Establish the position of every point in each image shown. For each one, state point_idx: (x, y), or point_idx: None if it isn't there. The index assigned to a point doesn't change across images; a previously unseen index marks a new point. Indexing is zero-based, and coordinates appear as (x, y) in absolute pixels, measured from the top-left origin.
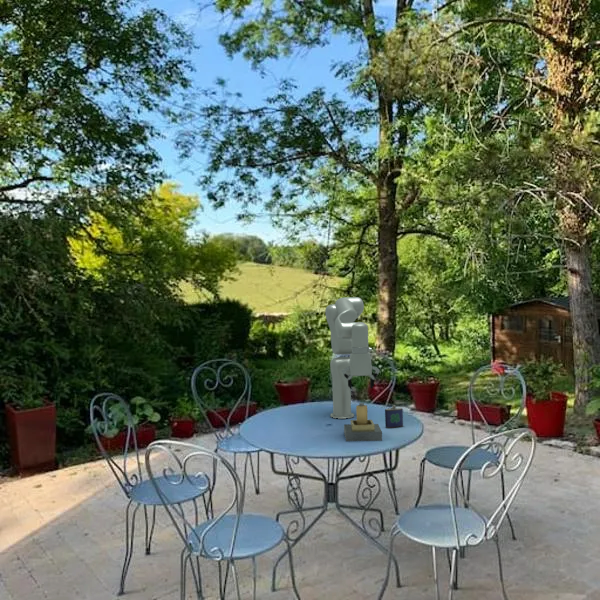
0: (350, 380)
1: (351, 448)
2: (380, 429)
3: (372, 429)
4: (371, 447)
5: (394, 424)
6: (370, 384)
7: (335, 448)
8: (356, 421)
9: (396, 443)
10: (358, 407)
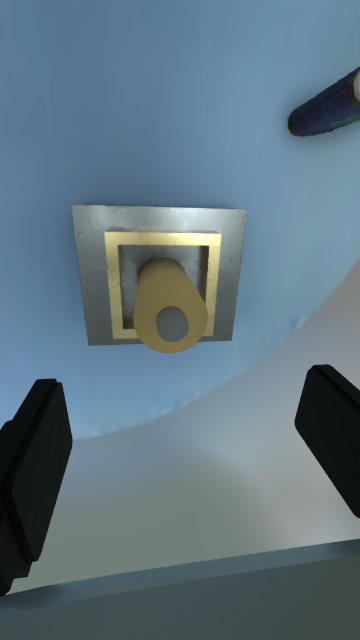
0: (21, 571)
1: (114, 398)
2: (233, 311)
3: None
4: (175, 390)
5: (336, 127)
6: (326, 399)
7: None
8: (137, 244)
9: (257, 355)
10: (147, 344)
